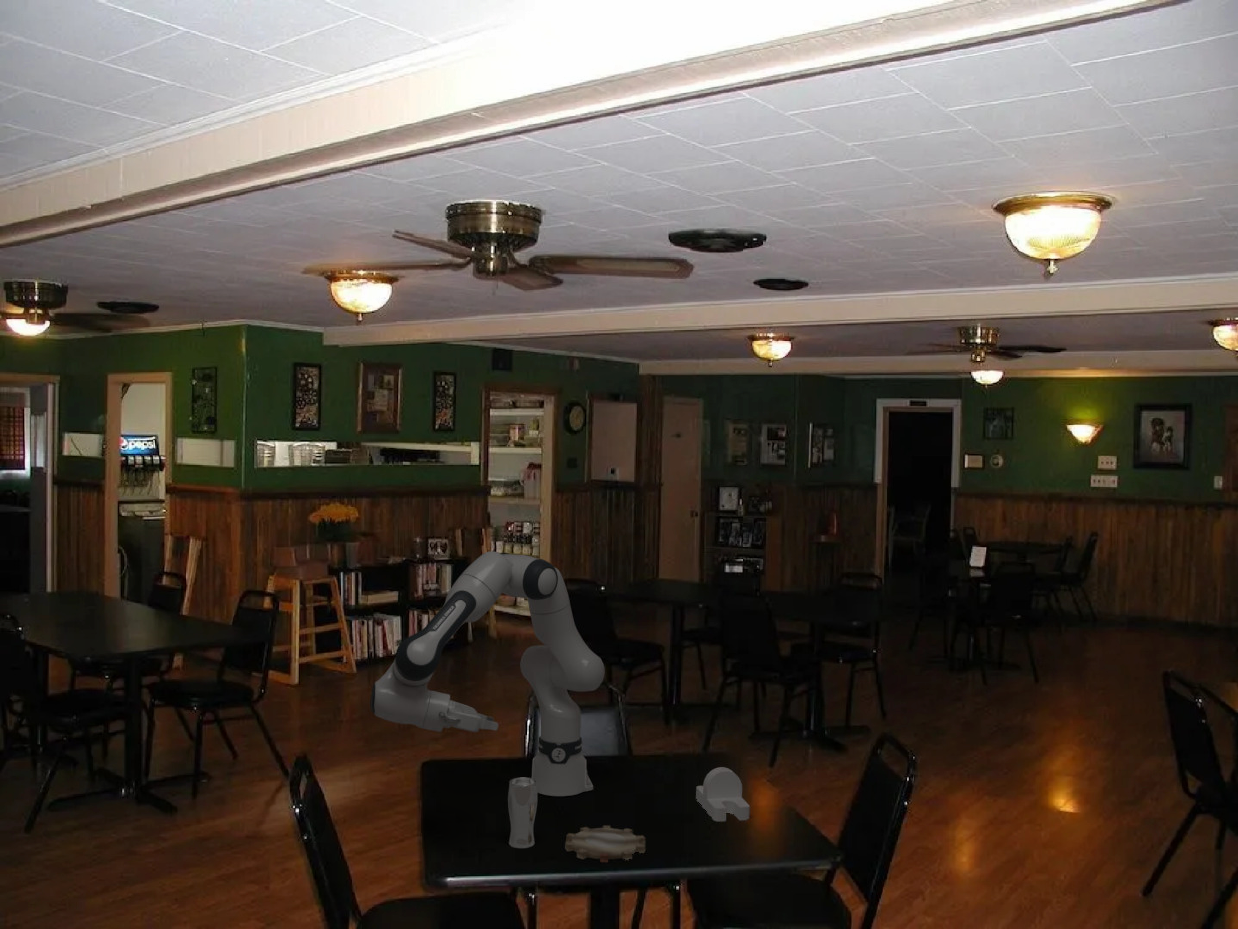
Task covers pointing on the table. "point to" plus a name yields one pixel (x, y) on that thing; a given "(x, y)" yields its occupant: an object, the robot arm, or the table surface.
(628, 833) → the sprocket plate
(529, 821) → the beer glass
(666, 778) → the table surface
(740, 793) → the tape dispenser
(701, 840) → the table surface
